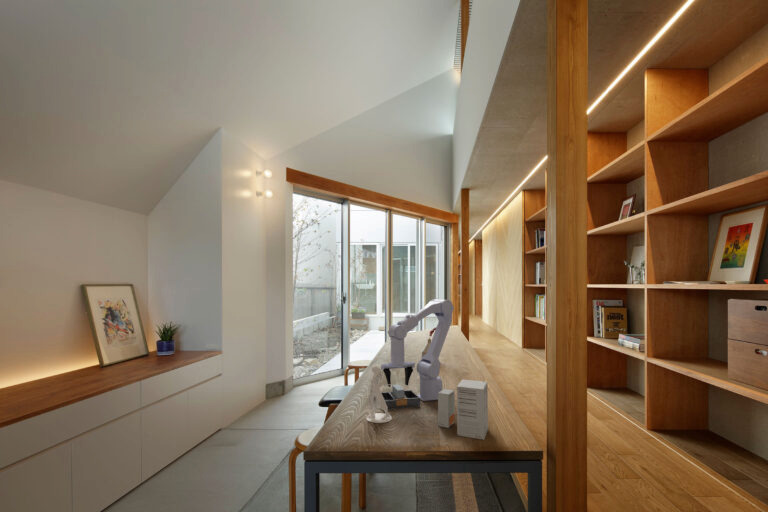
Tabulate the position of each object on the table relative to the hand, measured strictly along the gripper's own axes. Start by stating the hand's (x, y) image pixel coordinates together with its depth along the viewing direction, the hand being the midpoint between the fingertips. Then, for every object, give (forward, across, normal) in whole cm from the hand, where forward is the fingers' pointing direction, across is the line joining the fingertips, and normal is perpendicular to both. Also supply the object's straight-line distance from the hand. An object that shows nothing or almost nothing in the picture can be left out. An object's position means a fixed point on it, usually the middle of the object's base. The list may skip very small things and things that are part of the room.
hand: (398, 385), depth 168 cm
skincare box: (+8, +11, -26) cm, 29 cm away
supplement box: (+8, +17, -35) cm, 40 cm away
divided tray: (+8, 0, 0) cm, 8 cm away
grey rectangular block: (+7, 0, 0) cm, 7 cm away
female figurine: (+8, -14, -12) cm, 20 cm away
